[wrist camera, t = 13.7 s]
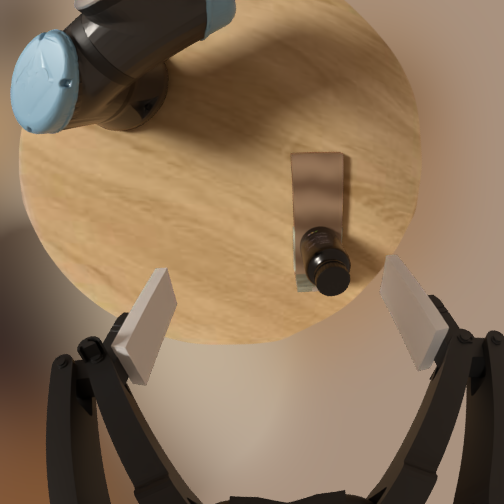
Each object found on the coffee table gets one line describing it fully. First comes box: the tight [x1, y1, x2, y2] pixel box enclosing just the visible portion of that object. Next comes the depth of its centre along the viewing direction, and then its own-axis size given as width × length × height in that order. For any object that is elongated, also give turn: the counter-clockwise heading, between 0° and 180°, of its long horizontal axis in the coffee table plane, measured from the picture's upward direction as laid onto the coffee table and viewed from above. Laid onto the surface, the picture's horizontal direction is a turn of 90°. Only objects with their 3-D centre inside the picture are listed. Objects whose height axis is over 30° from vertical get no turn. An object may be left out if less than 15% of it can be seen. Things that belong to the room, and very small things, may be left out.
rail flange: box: [291, 152, 343, 292], centre depth 44 cm, size 22×8×6 cm, turn 5°
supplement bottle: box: [300, 226, 351, 296], centre depth 41 cm, size 7×7×12 cm
